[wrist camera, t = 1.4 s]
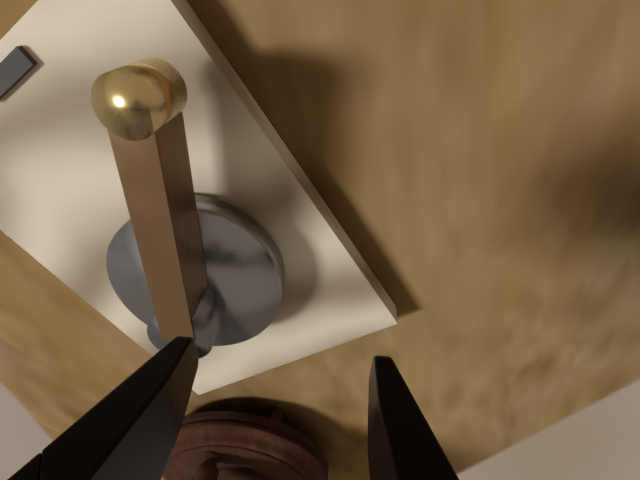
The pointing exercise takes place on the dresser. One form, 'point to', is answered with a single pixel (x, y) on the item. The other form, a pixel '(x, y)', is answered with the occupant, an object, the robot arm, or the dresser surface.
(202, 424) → the brown tall stacked figurine
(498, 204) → the dresser surface
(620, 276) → the dresser surface
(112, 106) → the cam lever
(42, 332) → the dresser surface
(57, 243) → the ash stand
